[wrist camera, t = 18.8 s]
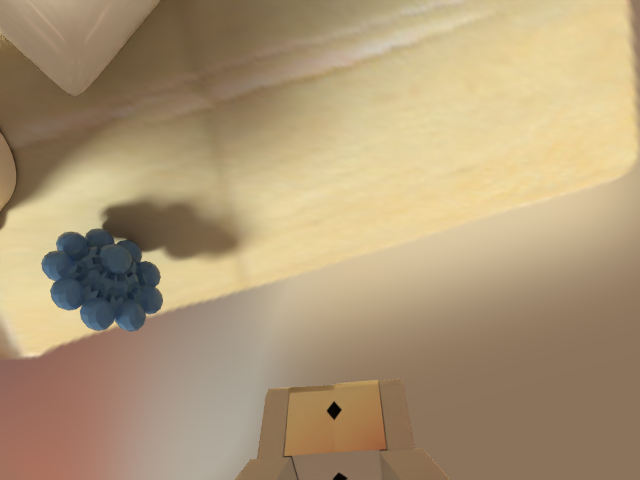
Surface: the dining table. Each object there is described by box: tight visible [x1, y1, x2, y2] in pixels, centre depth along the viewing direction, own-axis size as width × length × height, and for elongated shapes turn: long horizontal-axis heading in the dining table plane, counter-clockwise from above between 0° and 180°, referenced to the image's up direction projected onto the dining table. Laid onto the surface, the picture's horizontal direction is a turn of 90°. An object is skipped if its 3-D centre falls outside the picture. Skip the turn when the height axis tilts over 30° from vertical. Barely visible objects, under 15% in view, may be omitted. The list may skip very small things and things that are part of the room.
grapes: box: [41, 229, 163, 331], centre depth 42 cm, size 12×7×12 cm, turn 57°
